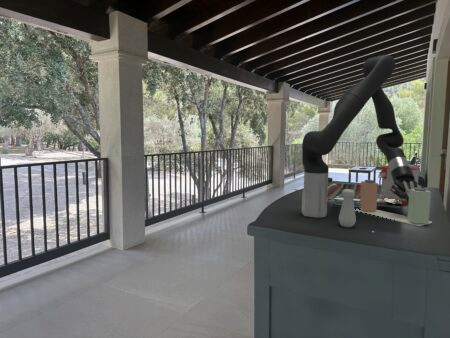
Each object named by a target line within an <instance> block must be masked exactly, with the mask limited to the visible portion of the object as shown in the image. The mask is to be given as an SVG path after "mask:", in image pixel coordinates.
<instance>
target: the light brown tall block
mask: <svg viewBox="0 0 450 338" xmlns="http://www.w3.org/2000/svg"><path fill="white" fill-rule="evenodd" d="M378 188H379V183H378V182H376V181H375V180H373V179H365V180H363V181H362V180H361V182H360V195H359V196H360V197H359V205H360V204H361V205H362V207H361V208H360V207H359V208H360V209H362V210H364V211H376V210H377V206H378V204H377V203H378Z"/></svg>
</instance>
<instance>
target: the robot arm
mask: <svg viewBox="0 0 450 338" xmlns="http://www.w3.org/2000/svg"><path fill="white" fill-rule="evenodd" d="M395 68H396V60H395V58H394V57H393V56H392V55H388V54H384V55H383V54H382V55H378V56H374V57H370V58H368V59H366V60H365V61H364V63H363V66H362V73H363V77H364V78H363V79H362V80H360V81H358V82H357V83H356V84H354V85H352V86H351V87H350V88H349V89H347V90H346V91H345V92H344V93H343V94H342V96H341V97H340V98H339V100H337V102H336V103H335V106H334V110H333V115H332V119H330V121H329V123H328V124H326V126H325V127H324V128H323V129H322V130H318V131H317V130H312V131H308V132H307V133H306V134H305V135H304V136H303V139H302V144H301V146H302V147H301V153H302V154H301V156H302V157H301V159H302V165H303V173H304V174H303V189H302V190H301V214H302V215H303V217H309V218H326V217H327V213H328V190H329V189H328V188H329V186H328V185H329V168H330V167H329V165H328V164H327V163H325V161H324V158H323V156H326V155H328V154H330V153H331V152H332V151H333V149H334V148H335V147H336V145H337V144H338V142H339V141H340V138H341V137H342V135H343V134H344V132H345V131H346V130H347V128H348V127H349V126H350V125H351V124H352V122H353V120H354V119H355V118H356V117H357V116H358V115H359V113H360V112H361V111H362V109H363V108H364V107H365V105H366V104H367V103H368V101H370V99H371V100H372V103H373V105H374V110H375V117H376V121H377V126H378V128H379V129H380V130H391V132H387V133H381V134H379V135H378V136H377V137H376V139H375V143H376V146H377V148H378V149H379V151H380V152H381V153H382V154H383V155H384V157H385V159H386V161H387V164H388V165H387V166H389V169H390V172H391V175H392V178H393V181H394V185H392V187H391V188H390V191H392V192H393V193H394V194H396V195H397V196H398V197H399V198H401V199H406V200H407V203H408V204H409V190H410V189H415V188H425V185H420V184H419V183H418V184H417V182H416V181H415V179H414V175H413V172H412V170H411V167H412V166H411V164H410V163H409V161H408V160H407V159H408V158H407V156H406V154H405V152H404V150H403V149H402V148H401V147H402V146H403V145H404V143H405V140H404V139H405V138H404V136H403V134H402V133H401V130H400V128H399V126H398V124H397V120H396V115H395V114H396V112H395V109H394V108H395V107H394V106H393V103H392V101H391V100H390V99H389V98H388V96H387V95H386V93H385V91H384V90H383V88H382V87H383V86H382V85H384V83H385V82H387V80H389V78H390V77H391V76H392V75H393V74H394V71H395V70H396V69H395Z"/></svg>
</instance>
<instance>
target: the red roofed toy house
mask: <svg viewBox="0 0 450 338" xmlns="http://www.w3.org/2000/svg"><path fill="white" fill-rule="evenodd" d="M410 167H411V170H412V172H413V175H414V179H415V181H416V182H417V184H418V185H419V175H420V167H417V166H410ZM377 178H378V179H381V191H382V196H383V197H384V198H388V199H395V200H399V201H401V202H402V205H403V206H404V205H405V206H408V203H407V200H406V199H401V198H399V197H398V196H397V195H396V194H394V193H393V192H392V191H390V188H391V187H392V185H394V181H393V178H392V175H391V172H390V169H389V165H383V166H382V167H381V173H379V174H378V176H377ZM384 198H383V199H384Z"/></svg>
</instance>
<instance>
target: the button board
mask: <svg viewBox="0 0 450 338" xmlns="http://www.w3.org/2000/svg"><path fill="white" fill-rule="evenodd" d="M355 209H356V210H355V212H356V211H358V212H357V213H360V212H362V214H365V213H367V214H366V215H369V214H371V215H370V216H373V215H375V216H374V217H377V216H379V217H378V218H382V217H383V218H384V219H386V218H387V219H386V220H390V219H391V220H390V221H394V220H395V221H396V222H399V223H403V224H407V225H410V226H411V225H413V226H416V227H423V226H425V225H427V224H424V223H413V222H411V221H409V220H407V219H408V215H403V214H398V213H393V212H388V211H384V210H380V209H376V211H364V210H362V209H361V210H359V209H358V208H355ZM395 221H394V222H395ZM429 224H433V221H430V220H429ZM429 224H428V225H429Z"/></svg>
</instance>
